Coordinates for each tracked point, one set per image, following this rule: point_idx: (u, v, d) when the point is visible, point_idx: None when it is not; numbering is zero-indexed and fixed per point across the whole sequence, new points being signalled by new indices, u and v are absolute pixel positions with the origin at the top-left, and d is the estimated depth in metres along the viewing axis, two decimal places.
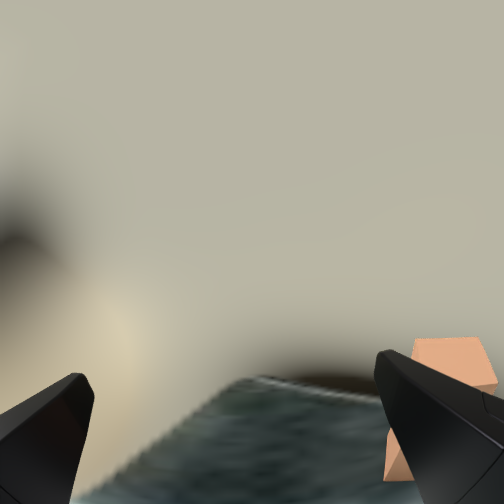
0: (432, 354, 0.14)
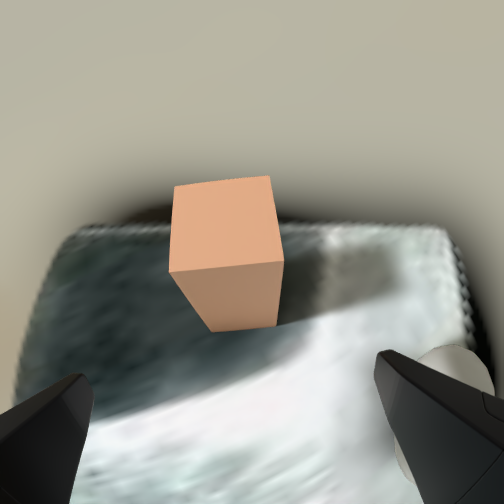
0: (191, 211, 0.14)
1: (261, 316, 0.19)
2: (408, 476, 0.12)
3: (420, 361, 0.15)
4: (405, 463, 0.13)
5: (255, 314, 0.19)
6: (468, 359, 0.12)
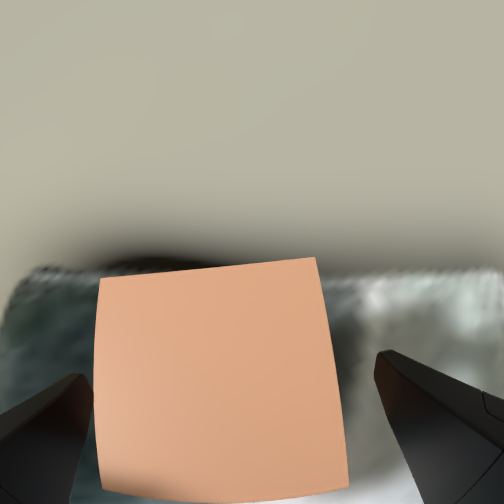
0: (131, 355, 0.05)
1: None
2: None
3: None
4: None
5: None
6: None
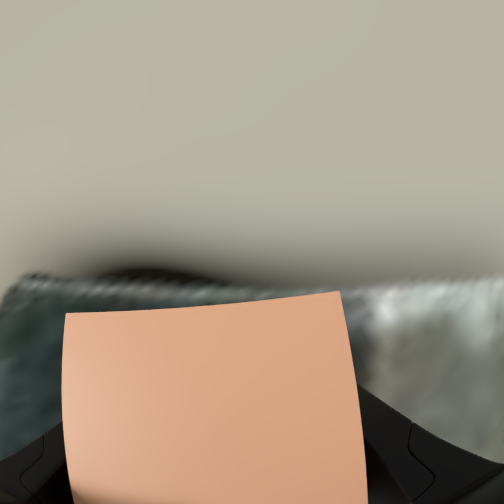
0: (104, 415, 0.04)
1: None
2: None
3: None
4: None
5: None
6: None
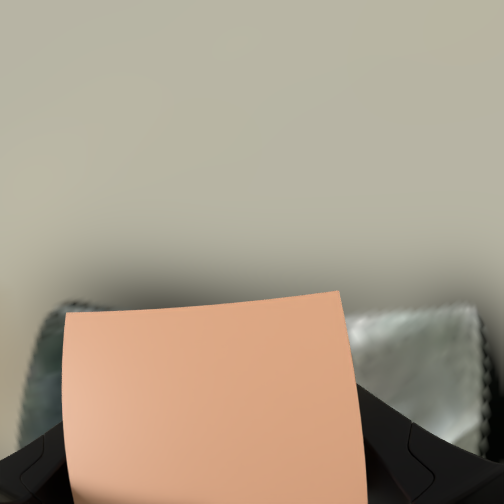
0: (105, 414, 0.04)
1: None
2: None
3: None
4: None
5: None
6: None
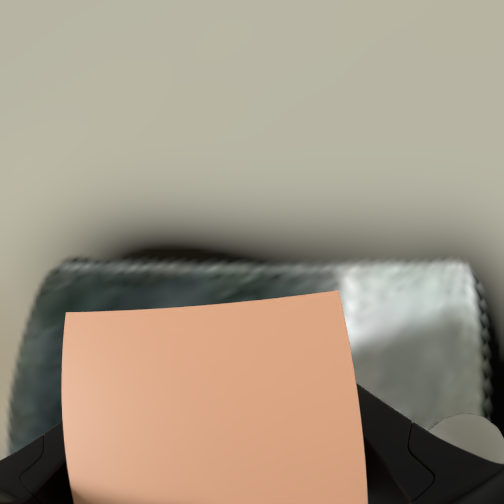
0: (104, 414, 0.04)
1: None
2: None
3: (439, 430, 0.12)
4: None
5: None
6: (491, 438, 0.08)
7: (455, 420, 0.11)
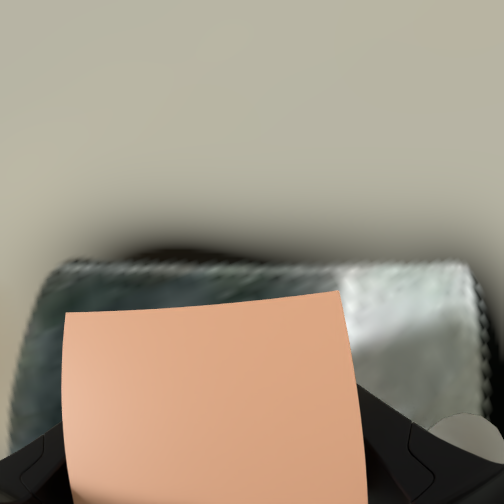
0: (104, 414, 0.04)
1: None
2: None
3: (438, 429, 0.12)
4: None
5: None
6: (489, 438, 0.08)
7: (454, 420, 0.12)
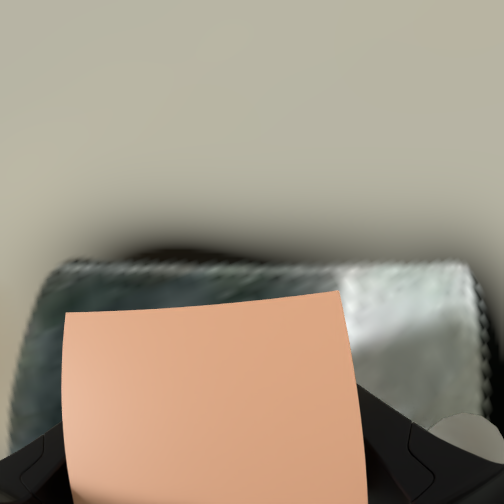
0: (104, 414, 0.04)
1: None
2: None
3: (438, 429, 0.12)
4: None
5: None
6: (489, 438, 0.08)
7: (454, 420, 0.12)
